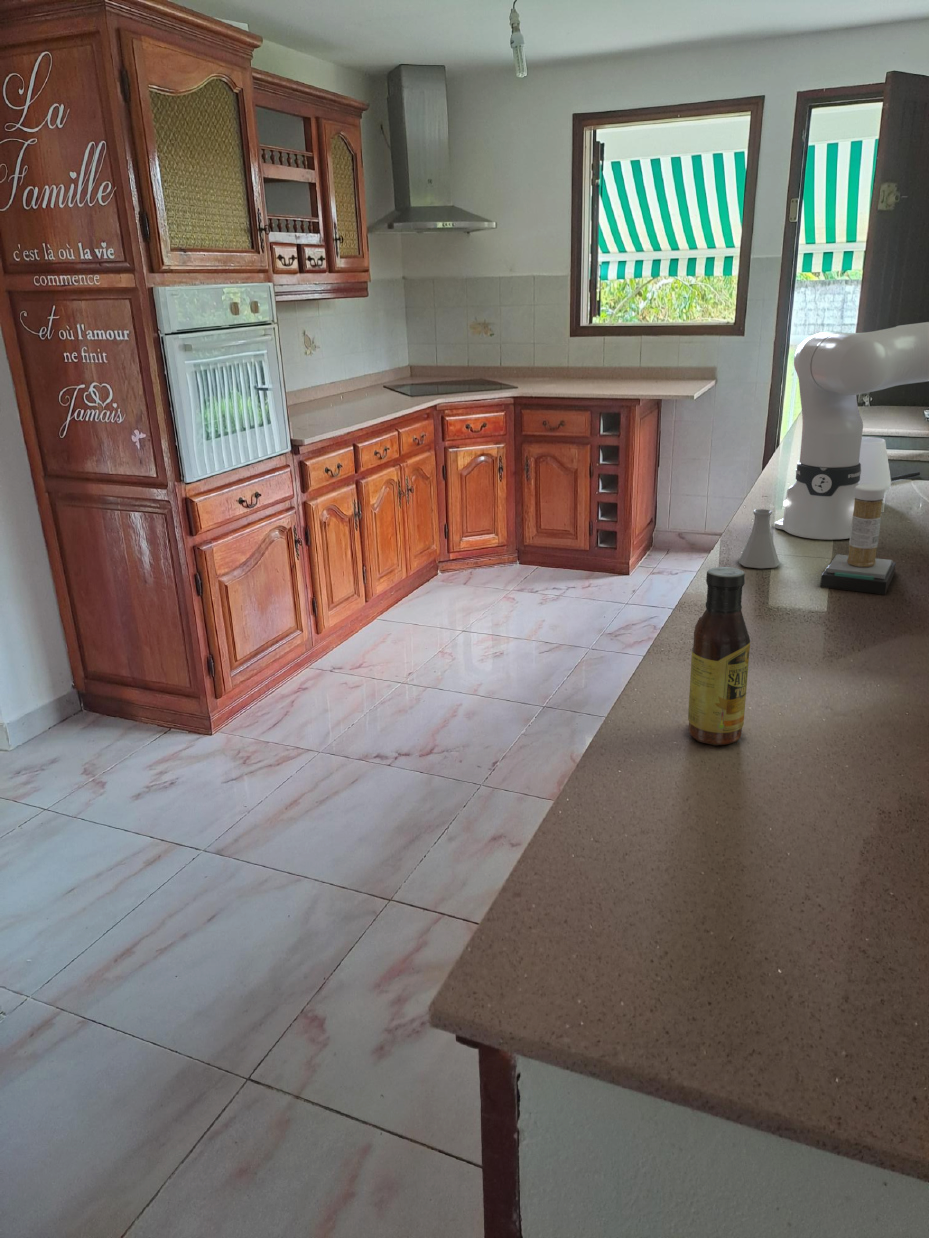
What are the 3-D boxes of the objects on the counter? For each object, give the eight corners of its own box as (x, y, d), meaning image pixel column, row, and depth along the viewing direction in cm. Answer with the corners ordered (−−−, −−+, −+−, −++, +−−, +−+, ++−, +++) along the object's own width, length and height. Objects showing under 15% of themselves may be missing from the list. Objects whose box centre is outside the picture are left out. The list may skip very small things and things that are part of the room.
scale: (833, 567, 158) (835, 551, 157) (894, 574, 153) (896, 557, 152) (820, 587, 149) (822, 570, 148) (884, 594, 144) (887, 577, 143)
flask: (781, 570, 158) (786, 516, 155) (739, 569, 160) (743, 515, 156) (776, 558, 165) (781, 506, 161) (736, 558, 166) (740, 506, 163)
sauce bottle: (733, 753, 98) (745, 584, 91) (679, 740, 102) (687, 577, 95) (749, 728, 103) (762, 567, 97) (697, 717, 107) (706, 560, 100)
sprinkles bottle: (859, 558, 153) (868, 482, 148) (881, 565, 149) (891, 486, 144) (840, 563, 151) (848, 485, 146) (862, 569, 147) (871, 490, 142)
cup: (893, 496, 206) (901, 436, 201) (884, 508, 196) (892, 446, 191) (832, 491, 213) (838, 433, 208) (820, 503, 202) (826, 442, 198)
